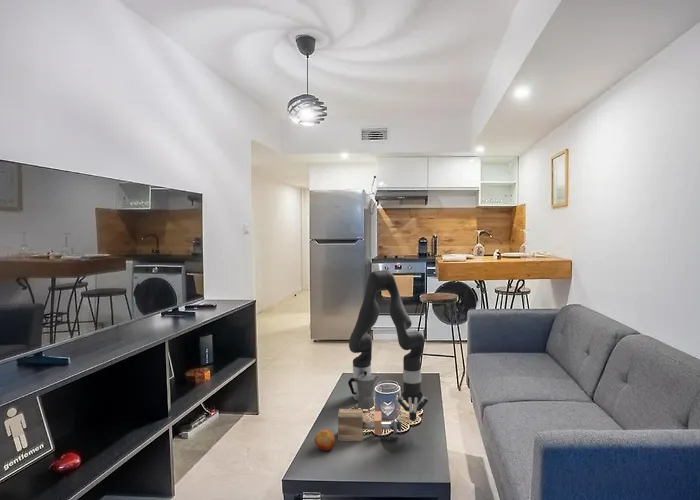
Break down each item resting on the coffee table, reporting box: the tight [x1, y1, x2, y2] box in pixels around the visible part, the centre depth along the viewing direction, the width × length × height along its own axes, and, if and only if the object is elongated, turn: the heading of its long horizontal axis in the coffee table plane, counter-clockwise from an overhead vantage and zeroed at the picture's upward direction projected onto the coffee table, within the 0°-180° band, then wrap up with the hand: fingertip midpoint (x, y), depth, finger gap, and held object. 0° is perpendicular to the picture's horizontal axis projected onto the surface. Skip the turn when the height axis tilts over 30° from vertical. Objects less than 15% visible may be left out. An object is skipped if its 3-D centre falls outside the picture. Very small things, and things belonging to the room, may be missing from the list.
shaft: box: [362, 418, 402, 434], centre depth 182 cm, size 6×18×6 cm, turn 87°
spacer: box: [373, 410, 383, 436], centre depth 182 cm, size 7×3×6 cm, turn 177°
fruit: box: [313, 428, 335, 451], centre depth 174 cm, size 8×8×8 cm
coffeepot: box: [347, 371, 379, 409], centre depth 210 cm, size 15×9×18 cm, turn 107°
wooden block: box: [337, 408, 364, 442], centre depth 183 cm, size 8×10×10 cm
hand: (412, 420), depth 181 cm, fingers closed
